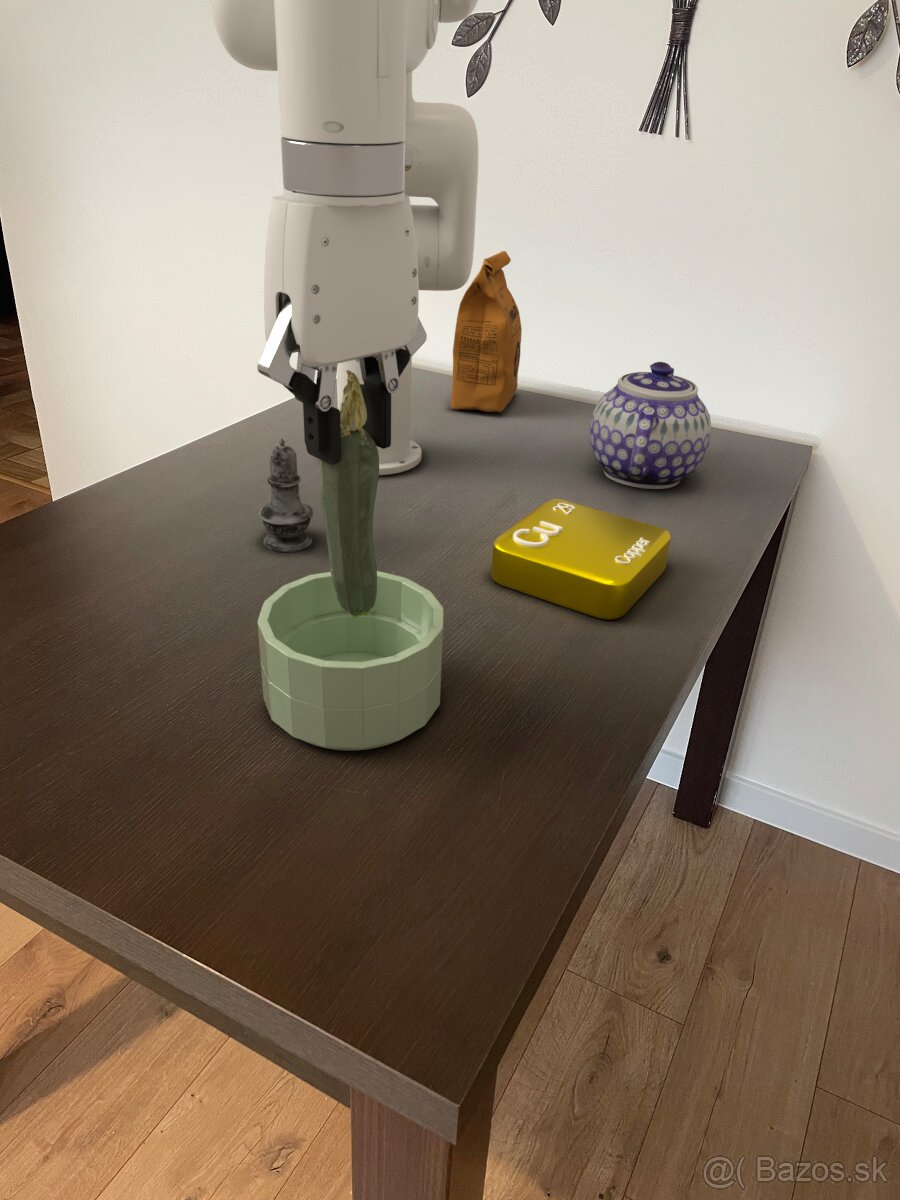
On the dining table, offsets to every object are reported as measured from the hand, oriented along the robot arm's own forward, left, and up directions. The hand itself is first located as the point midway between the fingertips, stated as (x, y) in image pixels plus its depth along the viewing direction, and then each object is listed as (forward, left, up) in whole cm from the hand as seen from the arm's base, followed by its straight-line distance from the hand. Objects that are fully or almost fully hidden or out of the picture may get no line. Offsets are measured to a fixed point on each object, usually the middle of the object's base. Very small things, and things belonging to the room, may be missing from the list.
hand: (349, 448), depth 66 cm
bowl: (0, 0, -23) cm, 23 cm away
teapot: (-12, +60, -23) cm, 65 cm away
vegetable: (0, 0, -15) cm, 15 cm away
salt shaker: (-27, +13, -23) cm, 38 cm away
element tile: (-1, +32, -23) cm, 39 cm away
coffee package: (-45, +64, -23) cm, 81 cm away
